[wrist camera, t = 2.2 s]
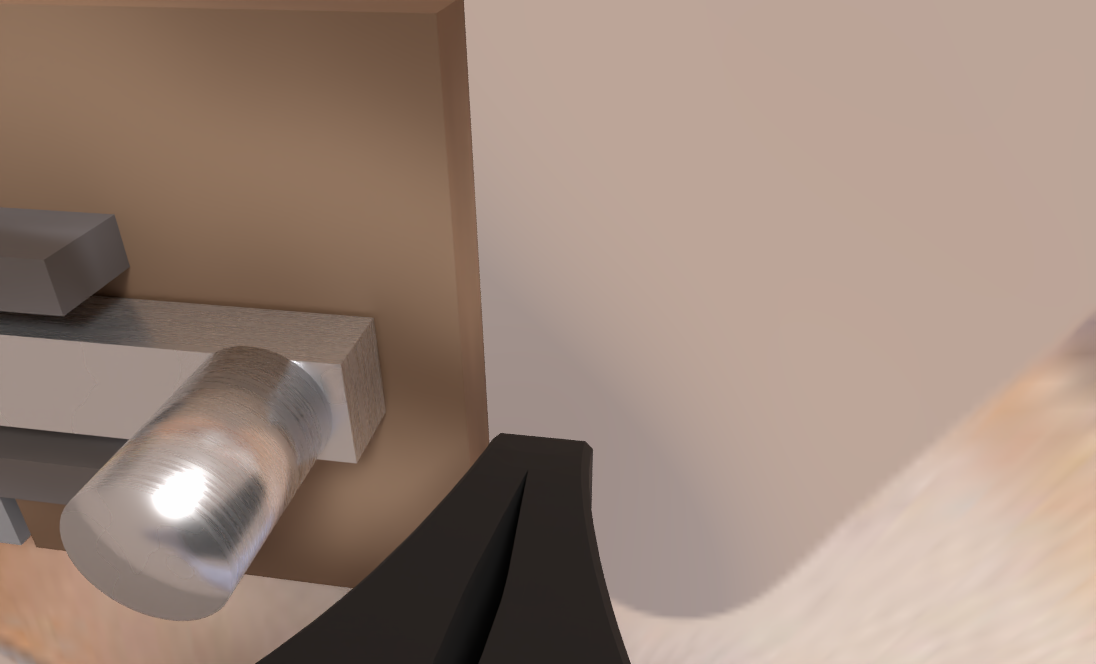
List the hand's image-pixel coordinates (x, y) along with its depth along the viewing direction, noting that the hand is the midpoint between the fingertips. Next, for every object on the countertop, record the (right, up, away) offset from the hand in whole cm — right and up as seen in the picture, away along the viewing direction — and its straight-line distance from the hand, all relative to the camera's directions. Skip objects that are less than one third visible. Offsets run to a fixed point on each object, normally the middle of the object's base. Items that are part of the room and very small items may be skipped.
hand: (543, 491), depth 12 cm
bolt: (-7, +2, +4) cm, 8 cm away
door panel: (-6, +3, +5) cm, 9 cm away
